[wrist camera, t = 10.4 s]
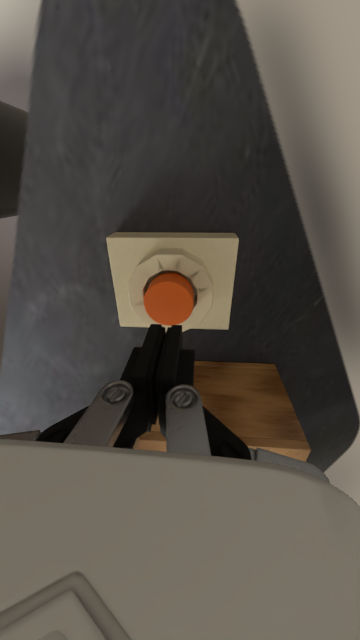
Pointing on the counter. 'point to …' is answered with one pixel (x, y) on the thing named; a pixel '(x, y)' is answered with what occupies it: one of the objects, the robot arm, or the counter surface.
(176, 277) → the button
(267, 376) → the cabinet
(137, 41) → the counter surface
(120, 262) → the button box
